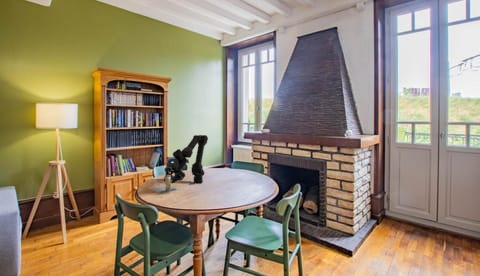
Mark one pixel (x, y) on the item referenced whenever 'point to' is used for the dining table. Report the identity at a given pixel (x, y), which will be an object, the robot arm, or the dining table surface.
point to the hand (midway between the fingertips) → (167, 182)
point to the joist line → (167, 191)
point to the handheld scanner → (172, 159)
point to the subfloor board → (161, 189)
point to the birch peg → (168, 182)
